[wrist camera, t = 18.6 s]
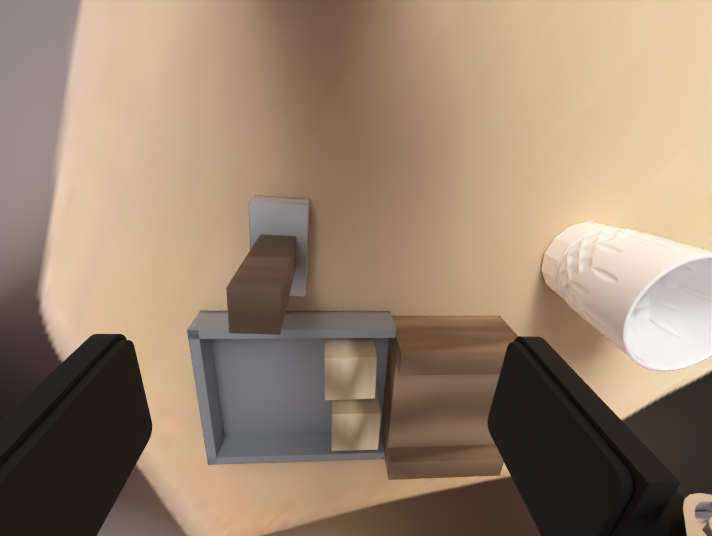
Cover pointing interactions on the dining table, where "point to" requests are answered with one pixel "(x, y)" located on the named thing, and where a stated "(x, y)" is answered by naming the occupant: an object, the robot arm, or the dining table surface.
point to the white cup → (636, 291)
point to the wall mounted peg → (270, 265)
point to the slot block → (442, 396)
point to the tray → (277, 385)
